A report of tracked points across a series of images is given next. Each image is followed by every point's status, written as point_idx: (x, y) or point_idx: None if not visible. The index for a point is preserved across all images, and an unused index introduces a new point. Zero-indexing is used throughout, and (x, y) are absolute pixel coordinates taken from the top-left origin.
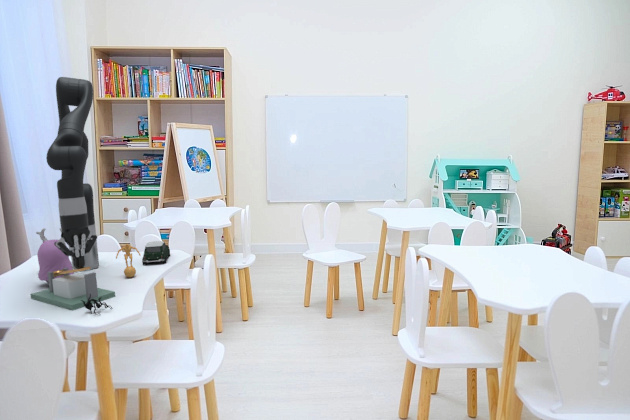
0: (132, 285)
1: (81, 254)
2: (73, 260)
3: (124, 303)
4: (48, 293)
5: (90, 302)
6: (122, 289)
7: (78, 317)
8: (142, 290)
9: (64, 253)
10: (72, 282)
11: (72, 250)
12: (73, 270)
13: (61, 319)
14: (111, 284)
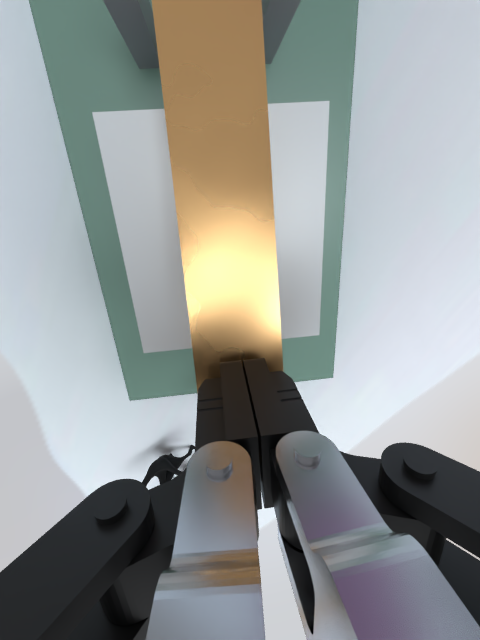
0: (469, 287)
1: (285, 537)
2: (198, 436)
3: None
4: (113, 61)
5: (169, 479)
6: (406, 304)
7: (119, 465)
8: (421, 385)
9: (40, 562)
10: (170, 349)
11: (206, 563)
12: (194, 363)
13: (68, 443)
14: (458, 166)
